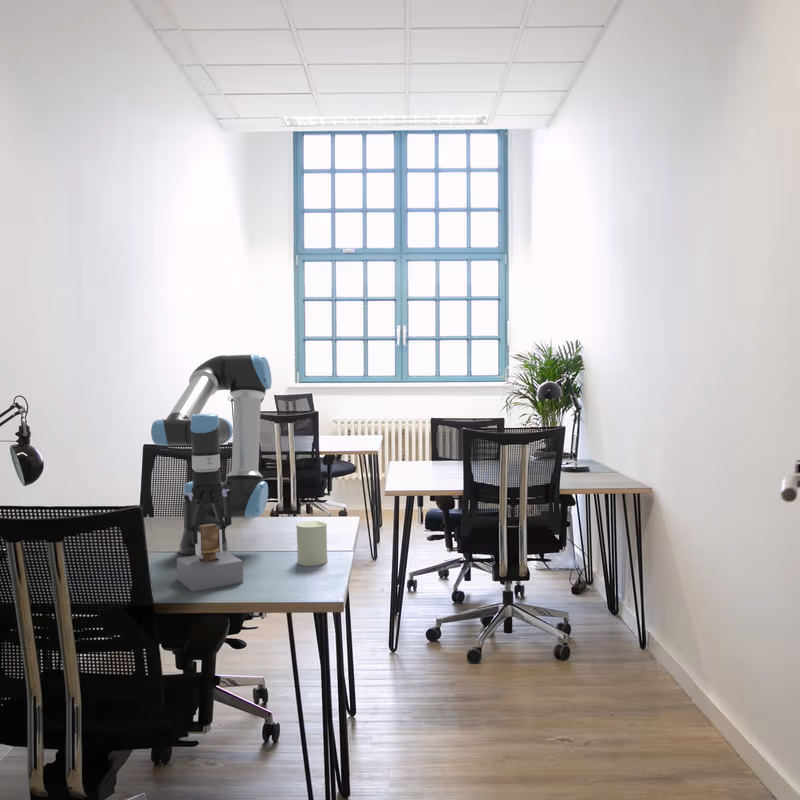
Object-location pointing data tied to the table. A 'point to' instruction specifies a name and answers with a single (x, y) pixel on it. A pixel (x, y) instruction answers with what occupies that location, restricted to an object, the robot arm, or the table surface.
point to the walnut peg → (209, 541)
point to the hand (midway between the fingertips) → (209, 553)
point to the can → (312, 543)
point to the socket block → (209, 571)
